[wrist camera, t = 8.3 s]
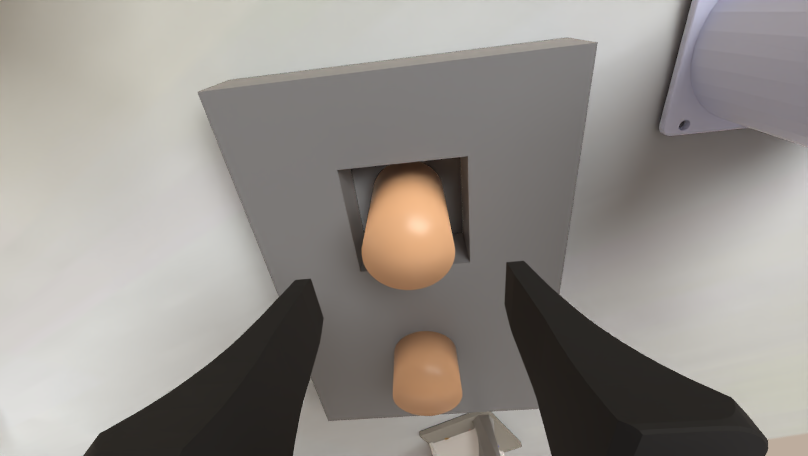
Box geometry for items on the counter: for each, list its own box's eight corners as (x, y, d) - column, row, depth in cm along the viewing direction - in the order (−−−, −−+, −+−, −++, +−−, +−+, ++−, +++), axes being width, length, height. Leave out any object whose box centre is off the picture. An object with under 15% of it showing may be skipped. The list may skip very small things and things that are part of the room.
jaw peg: (440, 156, 19) (453, 209, 14) (444, 219, 21) (456, 286, 16) (367, 163, 19) (353, 218, 14) (378, 226, 21) (369, 293, 16)
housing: (567, 37, 16) (642, 49, 11) (529, 372, 28) (556, 451, 23) (228, 80, 17) (152, 109, 12) (335, 385, 30) (320, 463, 24)
